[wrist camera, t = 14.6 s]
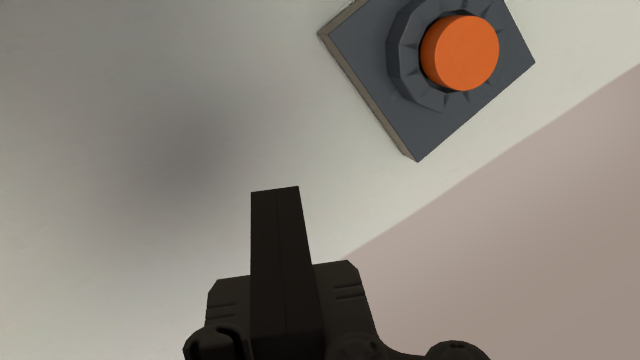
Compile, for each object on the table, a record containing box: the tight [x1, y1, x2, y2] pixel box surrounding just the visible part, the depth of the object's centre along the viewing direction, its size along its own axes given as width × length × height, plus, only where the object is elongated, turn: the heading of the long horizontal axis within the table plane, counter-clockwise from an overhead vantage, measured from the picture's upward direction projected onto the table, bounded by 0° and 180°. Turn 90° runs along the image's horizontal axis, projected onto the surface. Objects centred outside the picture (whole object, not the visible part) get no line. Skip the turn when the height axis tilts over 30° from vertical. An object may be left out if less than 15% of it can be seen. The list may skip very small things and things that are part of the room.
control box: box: [318, 0, 535, 163], centre depth 32 cm, size 10×10×4 cm
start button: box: [420, 15, 499, 91], centre depth 30 cm, size 4×4×2 cm
